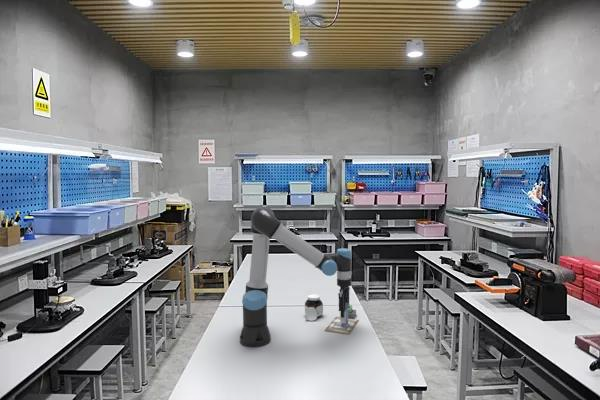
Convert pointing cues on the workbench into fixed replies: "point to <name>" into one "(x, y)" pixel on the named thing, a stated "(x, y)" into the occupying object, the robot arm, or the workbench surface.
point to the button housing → (352, 314)
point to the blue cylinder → (346, 313)
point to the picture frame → (341, 326)
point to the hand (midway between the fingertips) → (344, 321)
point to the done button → (350, 309)
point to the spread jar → (313, 307)
